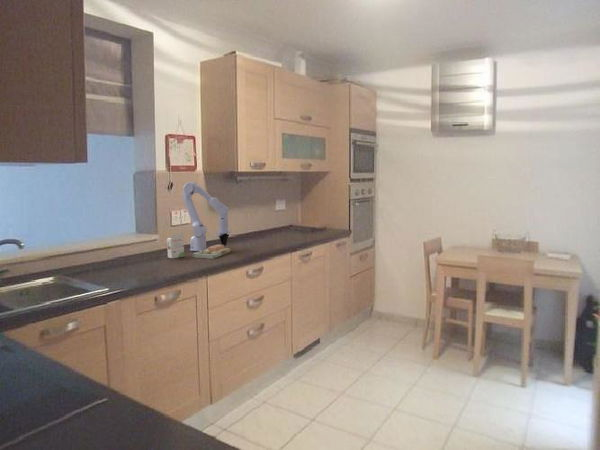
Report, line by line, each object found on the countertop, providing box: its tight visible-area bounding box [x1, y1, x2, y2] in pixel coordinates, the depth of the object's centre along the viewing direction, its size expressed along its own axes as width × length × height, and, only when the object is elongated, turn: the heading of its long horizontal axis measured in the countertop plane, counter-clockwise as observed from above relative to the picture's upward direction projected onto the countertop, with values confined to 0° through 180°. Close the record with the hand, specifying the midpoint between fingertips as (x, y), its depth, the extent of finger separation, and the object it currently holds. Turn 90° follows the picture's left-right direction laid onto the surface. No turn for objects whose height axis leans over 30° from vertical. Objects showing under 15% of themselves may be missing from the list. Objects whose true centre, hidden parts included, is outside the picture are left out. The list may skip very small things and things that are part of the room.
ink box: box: [166, 231, 185, 259], centre depth 264 cm, size 9×5×15 cm, turn 134°
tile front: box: [207, 245, 219, 251], centre depth 273 cm, size 5×5×2 cm
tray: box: [192, 251, 221, 260], centre depth 266 cm, size 14×9×2 cm
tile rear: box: [213, 244, 225, 249], centre depth 279 cm, size 5×5×2 cm
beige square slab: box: [202, 247, 231, 257], centre depth 276 cm, size 13×12×2 cm
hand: (224, 245), depth 285 cm, fingers closed
